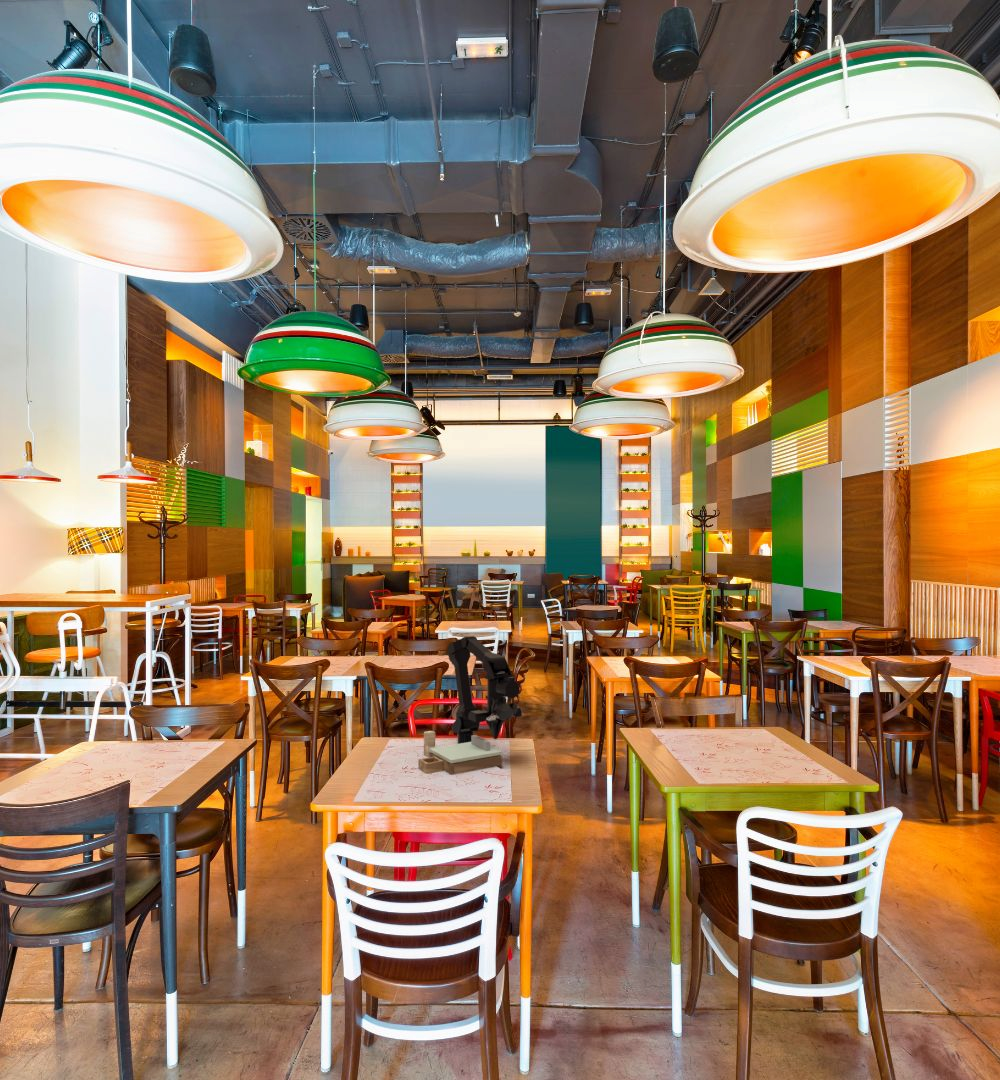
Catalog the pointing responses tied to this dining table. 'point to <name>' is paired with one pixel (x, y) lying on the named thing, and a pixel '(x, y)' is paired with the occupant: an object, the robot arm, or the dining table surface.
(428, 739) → the brown wooden block
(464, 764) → the wooden box tray
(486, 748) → the lid
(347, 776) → the dining table surface
